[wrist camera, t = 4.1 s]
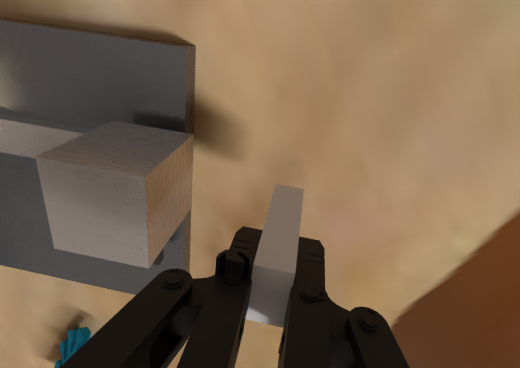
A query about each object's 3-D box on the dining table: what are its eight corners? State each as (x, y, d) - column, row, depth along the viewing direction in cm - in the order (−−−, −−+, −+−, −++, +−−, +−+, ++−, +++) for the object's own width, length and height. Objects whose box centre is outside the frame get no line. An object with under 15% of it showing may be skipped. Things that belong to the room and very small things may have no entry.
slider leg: (126, 250, 24) (68, 318, 19) (115, 119, 20) (35, 156, 14) (191, 264, 24) (151, 337, 18) (195, 132, 19) (144, 176, 14)
